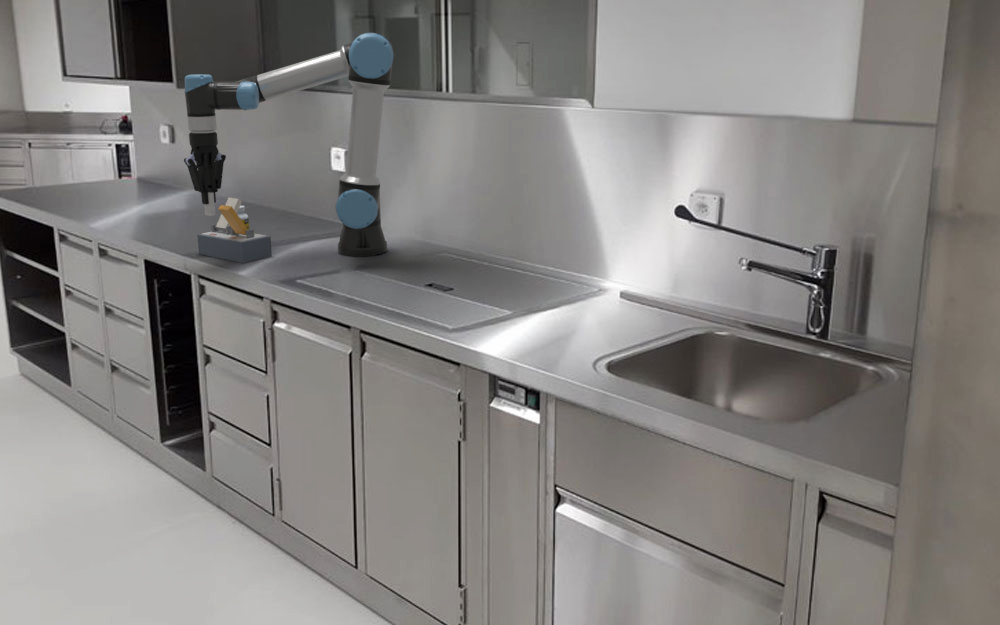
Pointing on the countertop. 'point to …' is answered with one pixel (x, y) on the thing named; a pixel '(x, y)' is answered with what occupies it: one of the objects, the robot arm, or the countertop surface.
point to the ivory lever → (222, 221)
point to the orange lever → (233, 219)
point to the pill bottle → (243, 216)
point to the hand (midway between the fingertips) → (210, 214)
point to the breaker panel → (234, 245)
